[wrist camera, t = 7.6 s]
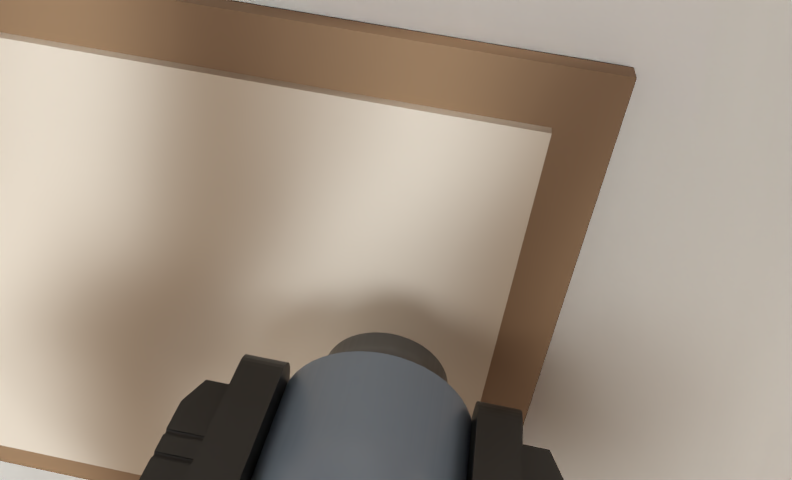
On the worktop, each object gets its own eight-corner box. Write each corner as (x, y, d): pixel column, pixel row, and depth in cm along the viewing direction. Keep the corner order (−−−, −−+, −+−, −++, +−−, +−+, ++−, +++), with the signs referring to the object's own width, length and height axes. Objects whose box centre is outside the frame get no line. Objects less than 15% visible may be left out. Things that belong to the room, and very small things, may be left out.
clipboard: (633, 67, 11) (644, 106, 10) (478, 548, 18) (474, 602, 17) (-288, -86, 12) (-377, -68, 11) (-73, 430, 19) (-111, 474, 18)
